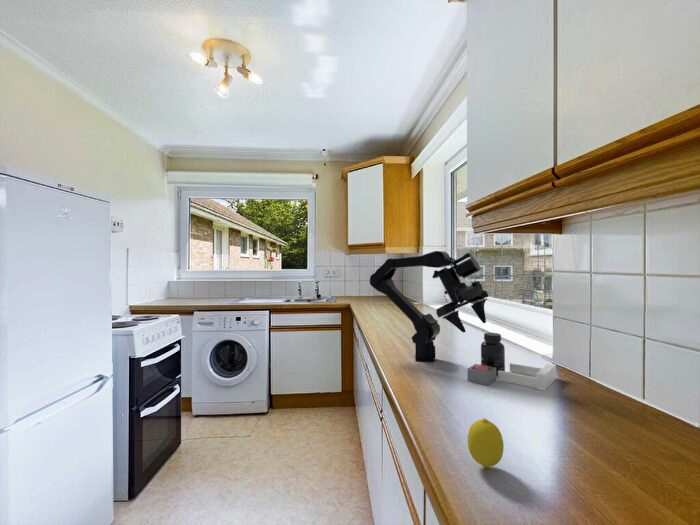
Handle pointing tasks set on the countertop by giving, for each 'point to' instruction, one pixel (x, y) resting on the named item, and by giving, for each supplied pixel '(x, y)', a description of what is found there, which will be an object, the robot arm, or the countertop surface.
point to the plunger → (481, 367)
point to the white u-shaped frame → (539, 382)
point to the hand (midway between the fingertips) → (474, 327)
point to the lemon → (485, 443)
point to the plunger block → (481, 375)
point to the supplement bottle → (493, 352)
